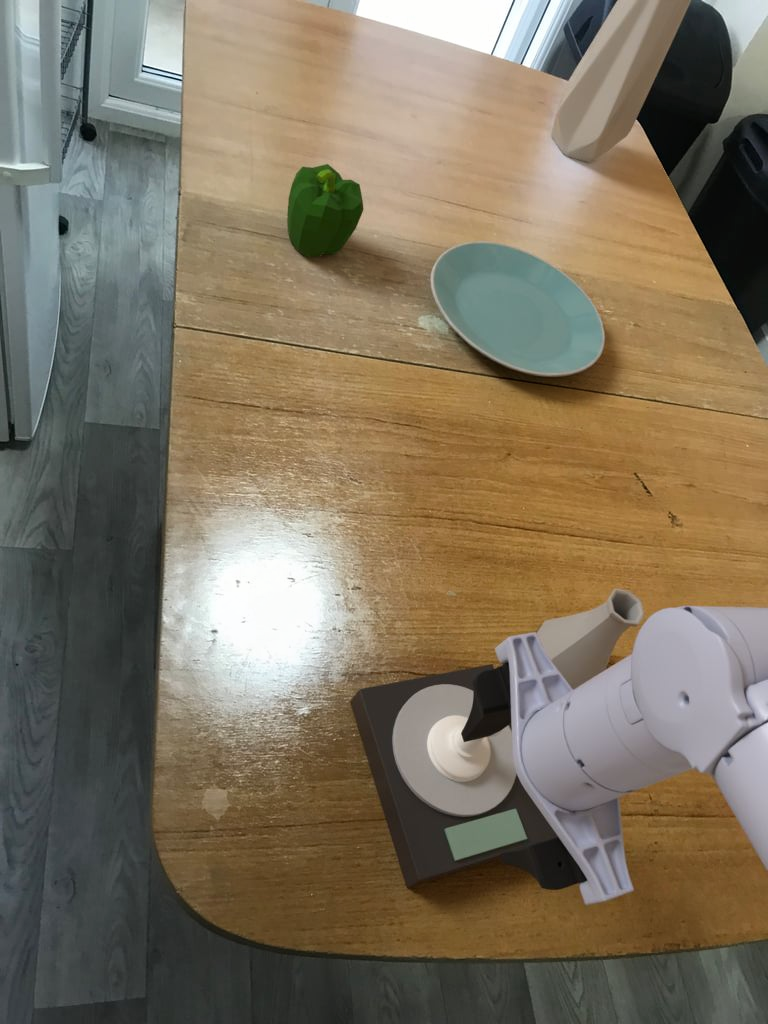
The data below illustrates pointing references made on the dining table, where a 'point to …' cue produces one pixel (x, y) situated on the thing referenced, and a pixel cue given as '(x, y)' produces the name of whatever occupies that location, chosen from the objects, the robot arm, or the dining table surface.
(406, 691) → the scale
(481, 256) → the plate
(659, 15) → the vase
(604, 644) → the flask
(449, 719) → the chess piece
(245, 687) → the dining table surface
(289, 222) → the bell pepper
